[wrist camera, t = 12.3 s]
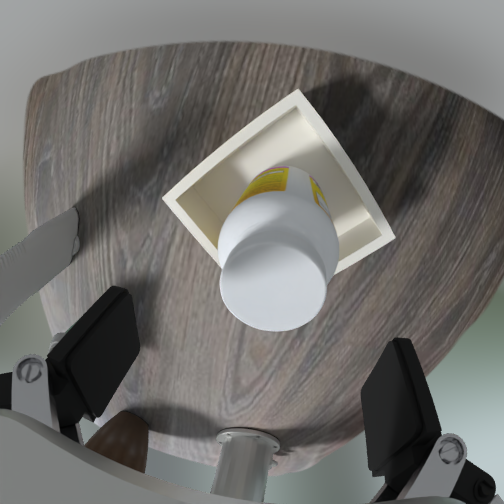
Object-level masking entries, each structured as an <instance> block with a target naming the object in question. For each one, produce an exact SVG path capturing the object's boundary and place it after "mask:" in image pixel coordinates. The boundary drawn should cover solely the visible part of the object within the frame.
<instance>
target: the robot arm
mask: <svg viewBox="0 0 504 504" xmlns="http://www.w3.org/2000/svg"><path fill="white" fill-rule="evenodd" d="M139 351H140V342H139V337H138V331H137V326H136V320H135V314H134V307H133V300H132V296H131V294H129V292H128V290H127V289H125V288H121V287H117V286H111V287H110V288H109V289H108V290H107V291H106V292H105V293H104V294H103V295H102V296H101V297H100V298H99V299H98V300H97V301H96V302H95V303H94V304H93V305H92V306H91V307H90V308H89V310H88V311H87V312H86V313H85V314H84V315H83V316H82V317H81V318H80V319H79V320H78V321H77V322H76V323H75V324H74V326H73V327H72V328H71V329H70V330H69V331H68V332H67V333H66V334H65V335H64V337H63V338H62V339H61V340H60V341H59V342H58V343H57V344H56V346H55V347H54V348H53V349H52V350H51V351H50V352H49V354H48V355H47V357H48V358H47V359H46V360H44V359H43V358H42V357H41V356H39V355H36V354H30V355H26V356H24V357H22V358H20V359H19V360H18V361H17V362H16V364H15V366H14V368H13V372H9V373H4V374H0V504H271V503H263V501H264V495H265V489H266V483H267V477H268V470H270V469H271V468H272V466H273V467H275V466H277V464H278V462H277V461H275V460H272V459H273V454H274V453H276V452H277V451H278V450H279V448H280V442H279V440H277V439H276V438H275V437H273V436H272V435H269V434H267V433H264V432H261V431H257V430H251V429H243V428H231V429H225V430H222V431H220V432H219V433H218V434H217V437H216V441H217V443H218V444H219V445H220V446H222V449H221V453H220V457H219V461H218V465H217V469H216V473H215V477H214V480H213V484H212V488H211V492H210V493H206V492H202V491H197V490H194V489H190V488H186V487H183V486H179V485H176V484H173V483H169V482H167V481H163V480H160V479H158V478H155V477H152V476H149V475H146V474H144V473H141V472H138V471H136V470H133V469H131V468H129V467H126V466H124V465H122V464H119V463H117V462H115V461H113V460H110V459H108V458H106V457H104V456H102V455H100V454H98V453H96V452H94V451H92V450H90V449H88V448H86V447H85V446H84V442H83V438H82V434H81V429H80V425H79V421H80V420H81V418H82V417H84V418H85V419H88V420H90V421H92V422H94V421H95V419H96V417H100V416H101V415H102V414H103V412H104V410H105V409H106V407H107V405H108V403H109V402H110V400H111V398H112V397H113V395H114V393H115V392H116V390H117V388H118V387H119V385H120V383H121V382H122V380H123V378H124V377H125V375H126V373H127V372H128V370H129V369H130V367H131V365H132V364H133V362H134V360H135V359H136V357H137V356H138V354H139ZM361 402H362V409H363V417H364V426H365V435H366V445H367V456H368V468H369V470H371V471H372V476H373V477H377V476H385V483H384V485H383V486H382V488H381V489H380V490H379V491H378V493H377V494H376V495H375V496H374V498H373V499H372V500H371V502H370V503H367V504H504V502H503V500H502V499H501V498H500V496H499V495H498V494H497V495H495V491H496V485H495V481H494V479H493V478H492V477H491V476H490V475H489V474H488V473H486V472H485V471H483V470H482V469H480V468H479V467H477V466H476V465H474V464H473V463H471V462H470V461H468V460H467V459H466V457H467V448H466V445H465V443H464V442H463V440H462V439H461V438H460V437H459V436H458V435H455V434H449V433H447V434H444V435H442V434H441V431H442V430H441V426H440V422H439V419H438V415H437V412H436V409H435V406H434V403H433V399H432V396H431V393H430V390H429V387H428V384H427V382H426V379H425V376H424V373H423V370H422V367H421V365H420V362H419V359H418V357H417V354H416V352H415V349H414V347H413V344H412V342H411V340H410V339H408V338H394V339H393V340H392V341H389V342H388V344H387V346H386V347H385V349H384V351H383V353H382V355H381V356H380V358H379V360H378V362H377V363H376V365H375V367H374V369H373V370H372V372H371V374H370V375H369V377H368V379H367V380H366V382H365V383H364V385H363V387H362V389H361Z"/></svg>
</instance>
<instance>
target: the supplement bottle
mask: <svg viewBox="0 0 504 504" xmlns="http://www.w3.org/2000/svg"><path fill="white" fill-rule="evenodd" d="M218 257H219V262H220V265H221V268H222V272H221V276H220V291H221V295H222V298H223V301H224V303H225V305H226V306H227V308H228V309H229V310H230V312H231V313H232V314H233V315H234V316H235V317H237V318H238V319H239V320H241V321H242V322H244V323H245V324H247V325H249V326H251V327H254V328H257V329H261V330H265V331H287V330H291V329H295V328H297V327H300V326H302V325H304V324H306V323H307V322H309V321H310V320H312V319H313V318H314V317H315V316H316V315H317V314H318V313H319V311H320V310H321V308H322V306H323V304H324V302H325V299H326V294H327V284H328V283H329V282H330V280H331V279H332V277H333V275H334V273H335V271H336V268H337V265H338V261H339V241H338V236H337V233H336V229H335V227H334V224H333V221H332V218H331V215H330V212H329V209H328V206H327V203H326V200H325V197H324V195H323V192H322V190H321V188H320V186H319V185H318V183H317V182H316V180H315V179H314V178H313V177H312V176H311V175H309V174H308V173H307V172H305V171H303V170H301V169H299V168H296V167H292V166H275V167H271V168H268V169H266V170H264V171H262V172H261V173H259V174H258V175H257V176H256V177H255V178H254V179H253V180H252V181H251V183H250V184H249V185H248V187H247V188H246V190H245V191H244V193H243V194H242V196H241V197H240V198H239V200H238V201H237V203H236V205H235V206H234V208H233V209H232V211H231V212H230V214H229V215H228V217H227V218H226V220H225V222H224V224H223V226H222V229H221V232H220V235H219V239H218Z"/></svg>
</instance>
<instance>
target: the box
mask: <svg viewBox="0 0 504 504" xmlns="http://www.w3.org/2000/svg"><path fill="white" fill-rule="evenodd" d="M275 166H292V167H296V168H299V169H301V170H303V171H305V172H307V173H308V174H309V175H311V176H312V177H313V178H314V179H315V180H316V182H317V183H318V185H319V186H320V188H321V190H322V192H323V195H324V197H325V200H326V203H327V206H328V209H329V212H330V215H331V218H332V221H333V224H334V227H335V229H336V233H337V236H338V241H339V261H338V265H337V268H336V271H335V273H334V275H335V274H336V273H338V272H340V271H342V270H343V269H345V268H347V267H349V266H350V265H352V264H354V263H355V262H357V261H359V260H360V259H362V258H364V257H365V256H367V255H369V254H370V253H372V252H374V251H375V250H377V249H379V248H380V247H382V246H384V245H385V244H387V243H388V242H390V241H392V240H393V239H395V236H394V234H393V232H392V230H391V228H390V226H389V224H388V222H387V221H386V219H385V217H384V215H383V213H382V211H381V210H380V208H379V206H378V204H377V203H376V201H375V199H374V197H373V196H372V194H371V192H370V191H369V189H368V187H367V186H366V184H365V182H364V181H363V179H362V177H361V176H360V174H359V173H358V171H357V169H356V168H355V166H354V165H353V163H352V162H351V160H350V158H349V157H348V155H347V154H346V152H345V151H344V149H343V148H342V147H341V145H340V144H339V142H338V141H337V139H336V138H335V136H334V135H333V134H332V132H331V131H330V129H329V128H328V127H327V125H326V124H325V123H324V121H323V120H322V119H321V117H320V116H319V115H318V113H317V112H316V111H315V109H314V108H313V107H312V105H311V104H310V103H309V102H308V100H307V99H306V98H305V97H304V95H303V94H302V93H301V92H300V90H299V89H297V90H295V91H294V92H293V93H291V94H290V95H288V96H287V97H285V98H284V99H282V100H281V101H280V102H278V103H277V104H275V105H274V106H272V107H271V108H270V109H268V110H267V111H266V112H264V113H263V114H261V115H260V116H259V117H257V118H256V119H255V120H253V121H252V122H251V123H249V124H248V125H247V126H246V127H244V128H243V129H242V130H240V131H239V132H238V133H237V134H235V135H234V136H233V137H232V138H230V139H229V140H228V141H227V142H225V143H224V144H223V145H222V146H220V147H219V148H218V149H217V150H216V151H214V152H213V153H212V154H211V155H210V156H208V157H207V158H206V159H205V160H204V161H202V162H201V163H200V164H199V165H198V166H197V167H196V168H194V169H193V170H192V171H191V172H190V173H189V174H188V175H186V176H185V177H184V178H183V179H182V180H181V181H180V182H179V183H178V184H177V185H175V186H174V187H173V188H172V189H171V190H170V191H169V192H168V193H167V194H166V195H165V196H164V197H163V198H162V199H163V200H164V202H165V203H166V204H167V205H168V206H169V208H170V209H171V210H172V211H173V212H174V213H175V215H176V216H177V217H178V218H179V219H180V221H181V222H182V223H183V224H184V225H185V227H186V228H187V229H188V230H189V231H190V232H191V234H192V235H193V236H194V237H195V238H196V239H197V241H198V242H199V243H200V244H201V245H202V246H203V248H204V249H205V250H206V251H207V252H208V253H209V254H210V256H211V257H212V258H213V259H214V260H215V261H216V262H217V264H218V265H219V266H220V267H221V265H220V262H219V257H218V239H219V235H220V232H221V229H222V226H223V224H224V222H225V220H226V218H227V217H228V215H229V214H230V212H231V211H232V209H233V208H234V206H235V205H236V203H237V201H238V200H239V198H240V197H241V196H242V194H243V193H244V191H245V190H246V188H247V187H248V185H249V184H250V183H251V181H252V180H253V179H254V178H255V177H256V176H257V175H258V174H259V173H261V172H262V171H264V170H266V169H268V168H271V167H275Z"/></svg>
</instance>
